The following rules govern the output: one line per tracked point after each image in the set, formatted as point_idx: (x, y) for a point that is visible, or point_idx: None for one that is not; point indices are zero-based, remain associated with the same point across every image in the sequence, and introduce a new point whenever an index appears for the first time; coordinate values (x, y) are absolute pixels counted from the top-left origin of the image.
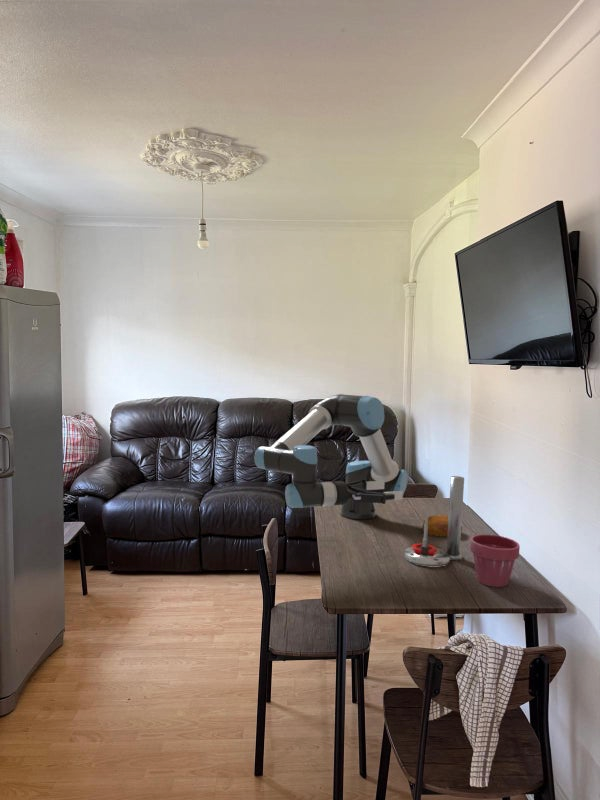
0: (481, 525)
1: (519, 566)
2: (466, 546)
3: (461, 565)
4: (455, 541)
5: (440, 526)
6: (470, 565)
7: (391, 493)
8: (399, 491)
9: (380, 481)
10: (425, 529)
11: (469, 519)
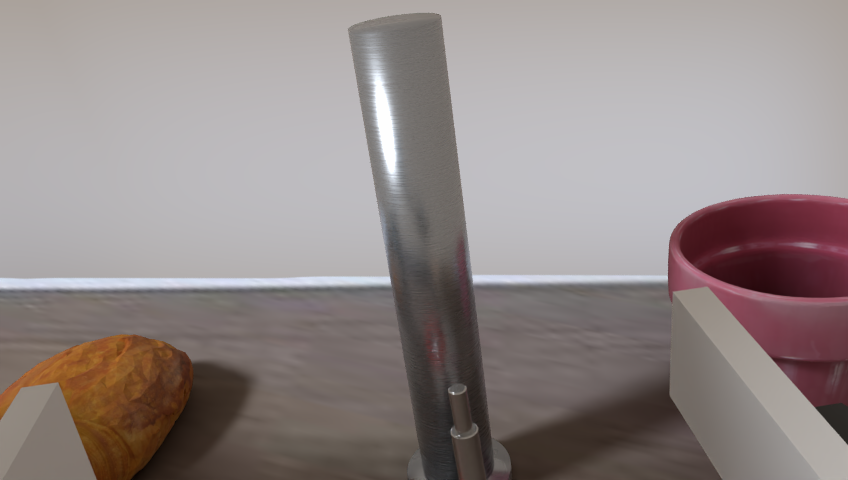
0: (117, 303)
1: (575, 309)
2: (324, 395)
3: (582, 476)
4: (485, 399)
5: (146, 409)
6: (578, 442)
7: (808, 424)
8: (709, 314)
9: (26, 430)
10: (481, 475)
11: (32, 317)
